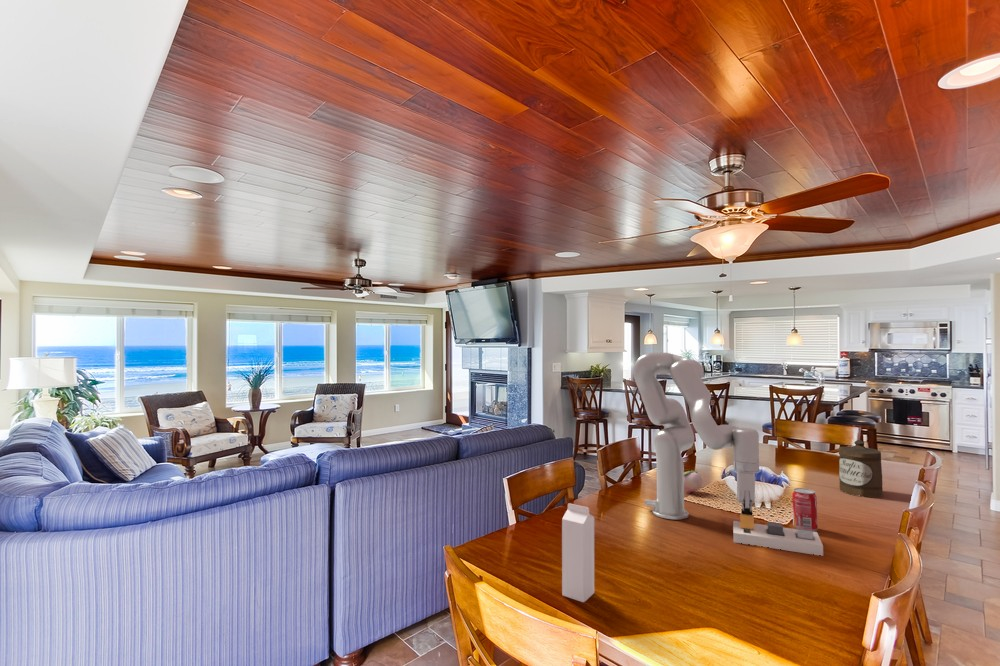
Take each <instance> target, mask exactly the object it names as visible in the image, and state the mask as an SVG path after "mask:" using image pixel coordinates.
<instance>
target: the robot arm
mask: <svg viewBox="0 0 1000 666" xmlns="http://www.w3.org/2000/svg"><path fill="white" fill-rule="evenodd" d="M632 369H633V370H632V371H633V372H632V374H633V379H634V381H635V385H636V387H637V388H638V392H639V394H640V396H641V397H640V398H641V399H642V402H643V405H644V408H645V411H646V414H647V416H648V419H649V420H650V422H651V423H652V424H653V425H655V426H664V425H665V427H664V428H662V429H661V430H659V431H657V433H656V434H655V436H654V439H653V446H654V450H655V460H656V499H653V500H652V499H648V498H647V499H646V498H645V499H644V505H645V506H647V507H652V513H653V514H654V516H657V517H659V518H661V519H667V520H674V521H675V520H676V521H677V520H684V519H687V518H688V517H690V514H689V511H688V510H686V509H685V489H684V472H685V467H684V460H683V457H682V452H685V451H687V450H690V449H691V448H692V447H693V446H694V443H695V436H694V432H693V431H694V430H695V431H696V433H697V435H698V437H699V438H700V439H701V441H702V442H703V444H705V445H706V447H708V448H709V449H711V450H715V451H716V450H717V451H719V450H723V449H726V448H730V447H733V470H734V471H735V472H736V498H737V500H736V501H737V502H738V503H741V513H740V514H746V515H753V509H752V508H753V507H752V506H753V505H754V504H755V497H756V474H759V473H760V447H759V446H760V443H759V440H760V439H759V438H760V437H759V436H760V435H759V432H758V431H757V429H755V428H751V427H739V426H738V427H737V426H736V425H735V426H734V425H731V424H720V425H718V424H717V423H716V421H715V419H714V417H713V416H712V414H711V411H710V401H711V399H712V394H711V392H710V390H709V389H708V388H707V387H708V386H706V384H705V383H704V381H703V380H702V378H703V377H704V373H705V372H704V368H703V366H702V365H701V363H700V362H699V361H697V360H695V359H693V358H688V357H684V356H681V355H677V354H673V353H670V352H647V353H644V354H642V355H640V356H639V357H638V358H637V359H636V361H635V363H634V365H633V368H632ZM657 375H659V376H660V375H665V376H666V375H667V376H670V377H671V379H672V380H673V382H674V384H675V385H676V387H677V389H678V391H679V392H680V394H681V395H682V397H683V398H684V400H685V402H686V403H687V405H688V408H689V416H690V419H691V423H692V426H693V428H694V430H693V429H692V426H691V423H690V421H689V418H688V416H687V414H686V411H685V409H684V407H683V405H682V404H681V402H679V401H678V400H676V399H674V398H670V397H669V398H667V396H666V394H665V391H664V388H663V386H662V384H661V383H660V381H659V380H658V379H657V377H656V376H657Z"/></svg>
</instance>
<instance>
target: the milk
mask: <svg viewBox="0 0 1000 666" xmlns="http://www.w3.org/2000/svg"><path fill="white" fill-rule="evenodd" d="M561 565H562V566H561V572H562V573H561V575H562V576H561V593H562V596H563V597H566V598H569V599H572V600H575V601H578V602H580V603H582V604H583V603H585V602H587V600H589V598H591V597H592V596H593V595H594V594H595V516H593V515H592V514H591V513H590V508H589V507H588V506H583V505H579V504H574V503H570V502H569V503H567V510H566V511H565V512H564V515H563V517H562V519H561Z"/></svg>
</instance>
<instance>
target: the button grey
mask: <svg viewBox="0 0 1000 666" xmlns="http://www.w3.org/2000/svg"><path fill="white" fill-rule="evenodd" d="M795 529H796V537H797V538H799V539H806V540H813V530H812V528H811V527H805V526H798V525H796V528H795Z"/></svg>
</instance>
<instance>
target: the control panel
mask: <svg viewBox="0 0 1000 666" xmlns="http://www.w3.org/2000/svg"><path fill="white" fill-rule="evenodd" d="M732 523H733V524H732V525H733V527H732V530H733V531H732V532H733V533H732V534H733V537H732V538H733V540H732V541H733V543H735V544H741V543H742V544H743V545H748V544H750V546H754V545H757V546H756V547H761V546H763V548H767V547H769V549H775V550H780V549H781V550H783V551H789V552H794V553H795V552H796V553H801V554H807V555H813V554H814V556H819V555H821V556H822V557H824V545H823V542H822V540H821V537H820V536H819V533H818V532H817V531H815V532H813V540H806V539H799V538H797V537H796V528H790V527H789V528H788V527H783V536H779V535H772V534H768V524H762V523H754V529H749V533H745V528H740V520H739V521H738V520H733V521H732Z"/></svg>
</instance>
